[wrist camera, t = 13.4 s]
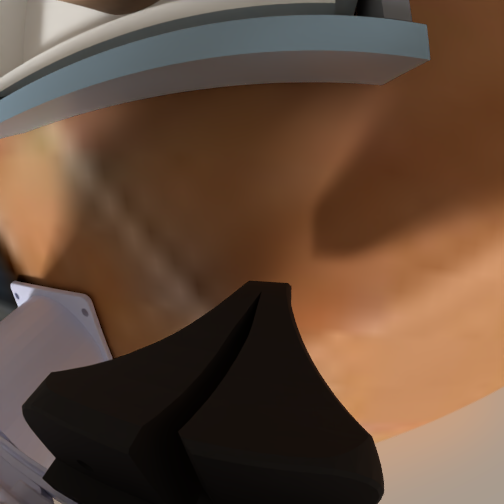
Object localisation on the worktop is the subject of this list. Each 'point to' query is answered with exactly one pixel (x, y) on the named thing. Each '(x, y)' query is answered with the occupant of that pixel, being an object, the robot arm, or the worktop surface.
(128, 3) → the beige cylinder
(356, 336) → the worktop surface
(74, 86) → the tray
